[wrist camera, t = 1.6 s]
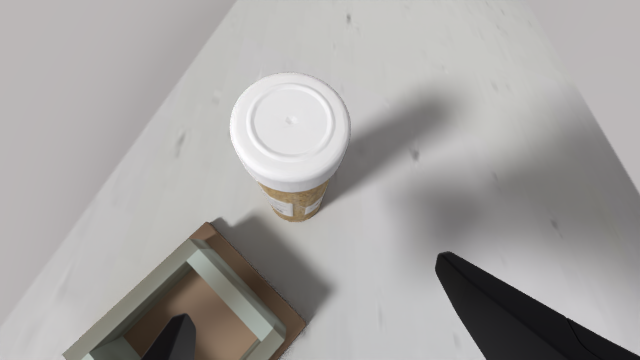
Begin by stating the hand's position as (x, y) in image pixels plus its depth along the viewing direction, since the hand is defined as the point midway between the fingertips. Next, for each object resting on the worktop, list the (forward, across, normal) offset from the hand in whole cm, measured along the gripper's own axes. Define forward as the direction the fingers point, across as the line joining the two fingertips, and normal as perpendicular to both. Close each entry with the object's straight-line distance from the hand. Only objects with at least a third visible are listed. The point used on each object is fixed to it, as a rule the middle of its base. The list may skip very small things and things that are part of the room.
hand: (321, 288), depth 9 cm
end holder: (+7, +9, +10) cm, 15 cm away
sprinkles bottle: (+13, 0, +5) cm, 14 cm away
